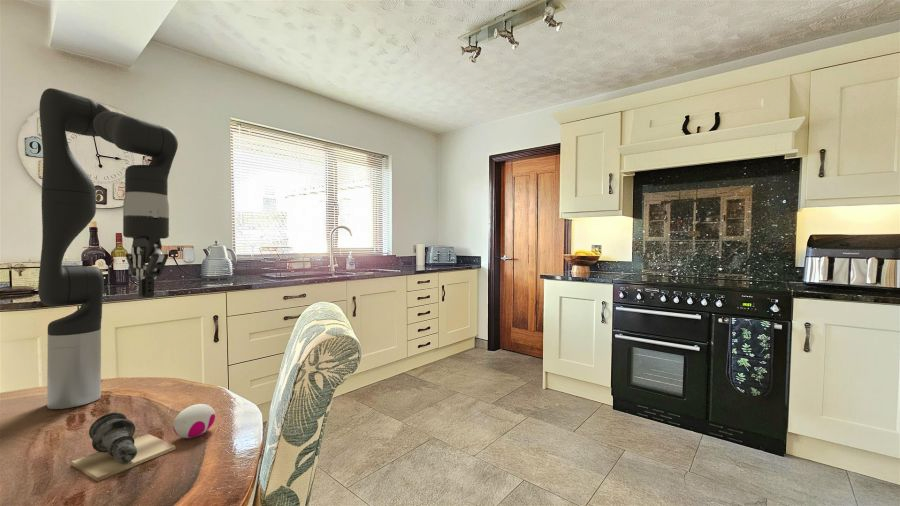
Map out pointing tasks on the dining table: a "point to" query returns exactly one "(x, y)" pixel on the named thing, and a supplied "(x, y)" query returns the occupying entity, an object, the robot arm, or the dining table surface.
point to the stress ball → (194, 421)
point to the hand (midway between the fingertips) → (146, 297)
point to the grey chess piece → (114, 436)
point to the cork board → (107, 465)
